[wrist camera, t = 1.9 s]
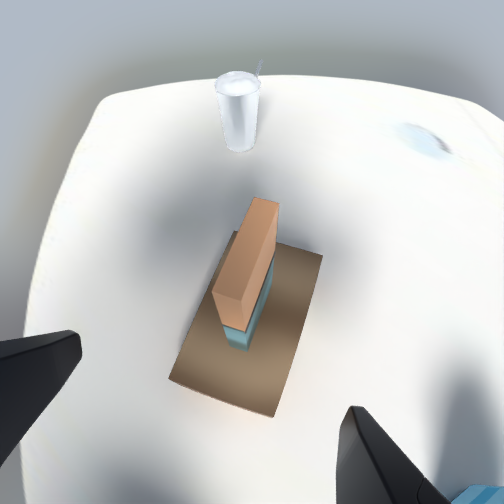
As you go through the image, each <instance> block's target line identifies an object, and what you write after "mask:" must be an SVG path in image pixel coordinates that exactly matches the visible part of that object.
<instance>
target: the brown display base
mask: <svg viewBox="0 0 504 504" xmlns="http://www.w3.org/2000/svg"><path fill="white" fill-rule="evenodd" d="M237 233H238V231H234V232H233V234H232V236H231V238H230V240H229V243H228V245H227V247H226V249H225V251H224V253H223V256H222V258H221V260H220V262H219V264H218V267H217V269H216V271H215V273H214V275H213V278H212V280H211V282H210V284H209V286H208V289H207V291H206V293H205V295H204V298H203V300H202V302H201V304H200V307H199V309H198V311H197V313H196V316H195V318H194V320H193V323H192V325H191V327H190V329H189V332H188V334H187V336H186V339H185V341H184V343H183V345H182V348H181V350H180V352H179V355H178V357H177V359H176V362H175V364H174V366H173V369H172V371H171V373H170V376H169V378H168V379H170V380H172V381H173V382H175V383H177V384H179V385H181V386H184V387H186V388H189V389H191V390H194V391H196V392H199V393H201V394H204V395H206V396H209V397H211V398H214V399H217V400H220V401H222V402H225V403H228V404H231V405H233V406H236V407H239V408H242V409H245V410H248V411H251V412H254V413H258V414H261V415H264V416H267V417H271V418H273V417H274V415H275V412H276V409H277V406H278V404H279V401H280V398H281V395H282V392H283V389H284V386H285V383H286V380H287V377H288V374H289V371H290V368H291V365H292V362H293V358H294V355H295V352H296V349H297V346H298V342H299V339H300V336H301V333H302V329H303V326H304V322H305V319H306V316H307V312H308V309H309V305H310V302H311V298H312V294H313V291H314V287H315V283H316V280H317V276H318V272H319V268H320V265H321V261H322V257H323V255H319V254H316V253H312V252H309V251H305V250H302V249H298V248H295V247H291V246H288V245H284V244H281V243H277V242H276V244H275V251H274V254H273V257H272V260H271V262H270V265H269V268H268V271H267V273H266V276H265V279H264V281H263V284H262V287H261V290H260V292H259V295H258V298H257V300H256V303H255V306H254V309H253V311H252V314H251V317H250V319H249V322H248V325H247V327H246V330H245V332H244V331H241V330H238V329H235V328H232V327H229V326H226V325H223V324H222V322H221V319H220V316H219V313H218V310H217V307H216V304H215V301H214V297H213V294H212V289H213V287H214V285H215V282H216V280H217V278H218V276H219V273H220V271H221V269H222V267H223V265H224V262H225V260H226V258H227V256H228V253H229V251H230V249H231V247H232V244H233V242H234V240H235V238H236V236H237Z"/></svg>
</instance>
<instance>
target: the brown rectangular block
mask: <svg viewBox="0 0 504 504" xmlns="http://www.w3.org/2000/svg"><path fill="white" fill-rule="evenodd" d="M278 211H279V203H276V202H272V201H268V200H264V199H260V198H256V197H254V198H253V201H252V203H251V205H250V207H249V209H248V211H247V214H246V216H245V218H244V220H243V222H242V225H241V227H240V229H239V231H238V233H237V236H236V238H235V240H234V242H233V244H232V247H231V249H230V251H229V253H228V256H227V258H226V260H225V262H224V265H223V267H222V269H221V271H220V273H219V276H218V278H217V280H216V282H215V285H214V287H213V289H212V294H213V297H214V301H215V304H216V307H217V310H218V313H219V316H220V319H221V322H222V324H223V325H226V326H229V327H232V328H235V329H238V330H241V331H244V332H245V330H246V327H247V325H248V322H249V319H250V317H251V314H252V311H253V309H254V306H255V303H256V300H257V298H258V295H259V292H260V290H261V287H262V284H263V281H264V279H265V276H266V273H267V271H268V268H269V265H270V262H271V260H272V257H273V254H274V251H275V244H276V233H277V222H278Z"/></svg>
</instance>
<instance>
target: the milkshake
mask: <svg viewBox="0 0 504 504" xmlns="http://www.w3.org/2000/svg"><path fill="white" fill-rule="evenodd" d="M262 62H263V60H260V61H259V64H258V67H257V69H256V72H255V75H253V74H251V73H247V72H244V71H231V72H228V73H226V74H224V75H222V76H220V77H219V78H218V79H217V80H216V82H215V91H216V95H217V100H218V104H219V109H220V114H221V119H222V125H223V130H224V136H225V141H226V145H227V147H228V149H229V150H232V151H234V152H246V151H248V150H250V149H252V148H253V146H254V144H255V135H256V123H257V111H258V102H259V94H260V85H261V82H260V80H259V79H258V78H257V76H258V74H259V71H260V68H261V65H262Z"/></svg>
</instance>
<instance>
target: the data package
mask: <svg viewBox="0 0 504 504" xmlns="http://www.w3.org/2000/svg"><path fill="white" fill-rule="evenodd" d="M451 504H504V487H500V486H487V485H476V484H474V485H471V486H469V487H468V488H467V489H466V490H465V491H464V492H462V493H461V494H460V495H459V496H458V497H457V498H455V499H454V500H453V501H452V502H451Z"/></svg>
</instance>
